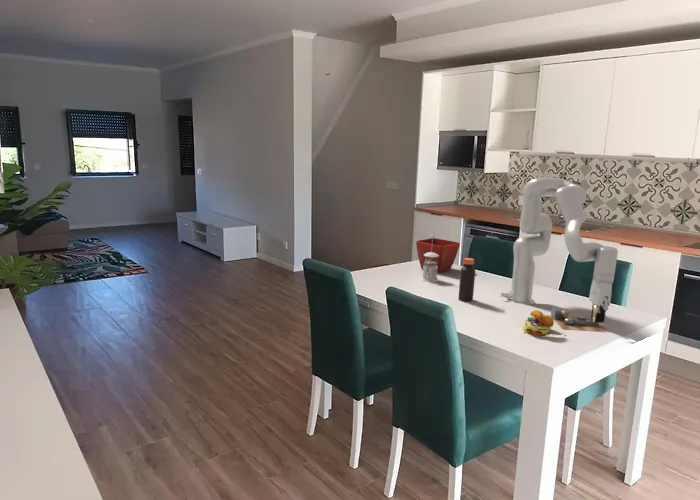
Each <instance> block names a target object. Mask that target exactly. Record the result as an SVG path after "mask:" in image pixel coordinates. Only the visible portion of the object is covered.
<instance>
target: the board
mask: <svg viewBox="0 0 700 500" xmlns="http://www.w3.org/2000/svg"><path fill="white" fill-rule="evenodd" d="M568 318H573V319H577V316H568ZM553 320H554V319H553ZM586 320H592V318H591V317H586ZM554 322H555V323H556V324H557V325H558V326H559V327H560V329H561V330H565V331H577V332H578V331H579V332H580V331H581V332H596V333H597V332H598V333H609V330H607V329H606V328H605V327H604V326H602V325H601V323H598V325H582V324H575V325H566V324H565V323H564V322H565V319H563V318H560V320H554Z"/></svg>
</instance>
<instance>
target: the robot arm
mask: <svg viewBox="0 0 700 500" xmlns="http://www.w3.org/2000/svg"><path fill="white" fill-rule="evenodd" d="M547 197H549V198H550V197H554V199H555V203H556V204H557V207H558V209H559V211H560V213H561V216H562V219H563V221H564V223H565V228H564V242H565V245H566V248H567V250H568V252H569V255H570V256H571V258H572V259H573V260H574V262H578V263H585V262H594V269H593V273H592V274H593V275H592V281H591V285H590V291H589V295H588V300H589V301H590V302H591V303H592V305H591V312H590V313H591V315H590V318H592V316H593V309H594V304H595V305H597V306H598V312H597V313H596V320H595V321H596V322H602V323H605V318H606V317H605V316H606V314H607V311H608V310H609V306H610V304H611V299H612V293H613V292H612V291H613V290H612V289H613V283H614V280H615V273H616V268H617V259H618V253H619V252H618V249H617V248H616V247H614V246H610V245H609V246H608V245H603V244H601V243H598V242H584V241H583V239H582V236H581V232H580V231H581V227H582V224H583V223H584V222H586V221H587V215H586V212H585V210H584V207H583V205H582V204H584V203H585V202H586V201H587V198H588V197H587V192H586V190H585V189H584V187H582V186H581V185H579V184H577V183H575V182H571V181H568V180H566V179H563V178H559V177H536V178H533V179H531V180H529V181H528V182H527V183H526V184H525V186H524V188H523V191H522V206H521V211H520V212H521V214H520V220H519V230H520V231H521V233H522V234H525V235H530V236H523V237H518V238H517V239H516V240H515V241H514V243H513V247H512V248H513V249H512V250H513V270H512V271H513V272H512V277H511V278H512V279H511V289H510V290H509V291H508V292H500V293H499V294H500V297H503V298H504V299H506V301H507V302H508V303H515V304H521V305H522V304H523V305H531V304H535V303H536V302H535V300H534V299H532V297H533V289H534V280H535V271H536V270H535V269H536V265H535V264H536V263H535V259H534V257H539V256H543V255H545V254H546V253H547V252H548V251H549V249H550V244H551V237H552V230H553V229H552V228H553V221H552V219H551V216H550V215H548V214H546V213H543V212H542V209H543V202H542V199H541V198H547ZM601 304H603V305H601ZM601 307H603V308H601ZM600 308H601V309H600Z"/></svg>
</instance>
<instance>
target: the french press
mask: <svg viewBox="0 0 700 500" xmlns="http://www.w3.org/2000/svg"><path fill="white" fill-rule="evenodd" d="M430 237H431V238H432V242H433V238H435V235H434V234H431V235H430ZM424 256H425V257H431V258H434V257H438V256H439V255H438V254H436V253H433V252H432V250H431V252H429V253H426V254H424ZM436 264H437V262H435V261H430V259H429V260H428V261H426V260H425V262H424V265H423V269H422V277H421V278H420V281H423V282H426V283H436V282H439V279H438V273H437V272H436V271H437V270H436V269H438V265H436ZM427 268H428V269H427Z"/></svg>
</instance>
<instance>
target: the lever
mask: <svg viewBox="0 0 700 500" xmlns="http://www.w3.org/2000/svg"><path fill="white" fill-rule="evenodd" d="M601 305H603V304H601ZM601 308H603V307H601ZM601 308H600V309H601ZM592 309H593V308H592ZM597 312H598V306H597V305H595V304H594V309H593V316H592V320H586V318H587V317H586V316H581V315H578V316H576V317H577V319H573V318H565V322H564V323H565V324H566V325H575V324H582V325H598V323H599V324H603V322H596V321H595V320H596V313H597Z"/></svg>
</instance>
